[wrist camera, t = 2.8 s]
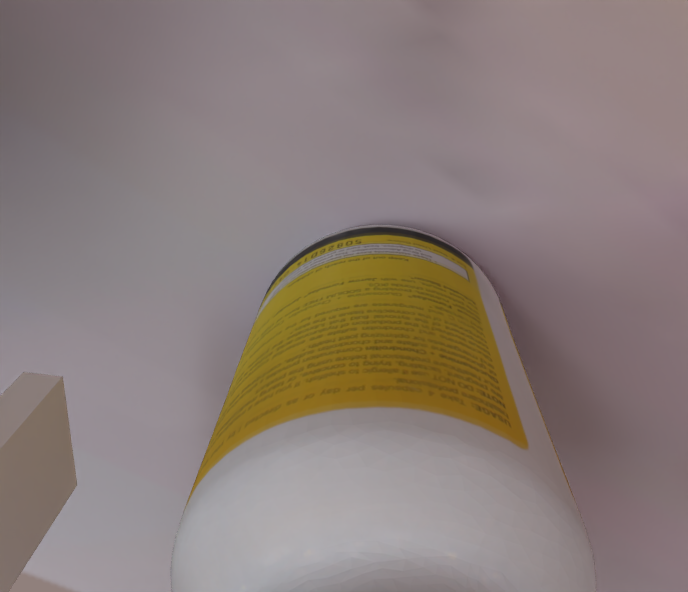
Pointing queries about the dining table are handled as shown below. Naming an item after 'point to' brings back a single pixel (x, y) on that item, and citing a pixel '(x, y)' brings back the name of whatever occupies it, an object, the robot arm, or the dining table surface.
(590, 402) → the dining table surface
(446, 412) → the pill bottle
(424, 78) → the dining table surface
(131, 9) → the dining table surface
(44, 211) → the dining table surface
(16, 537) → the robot arm
